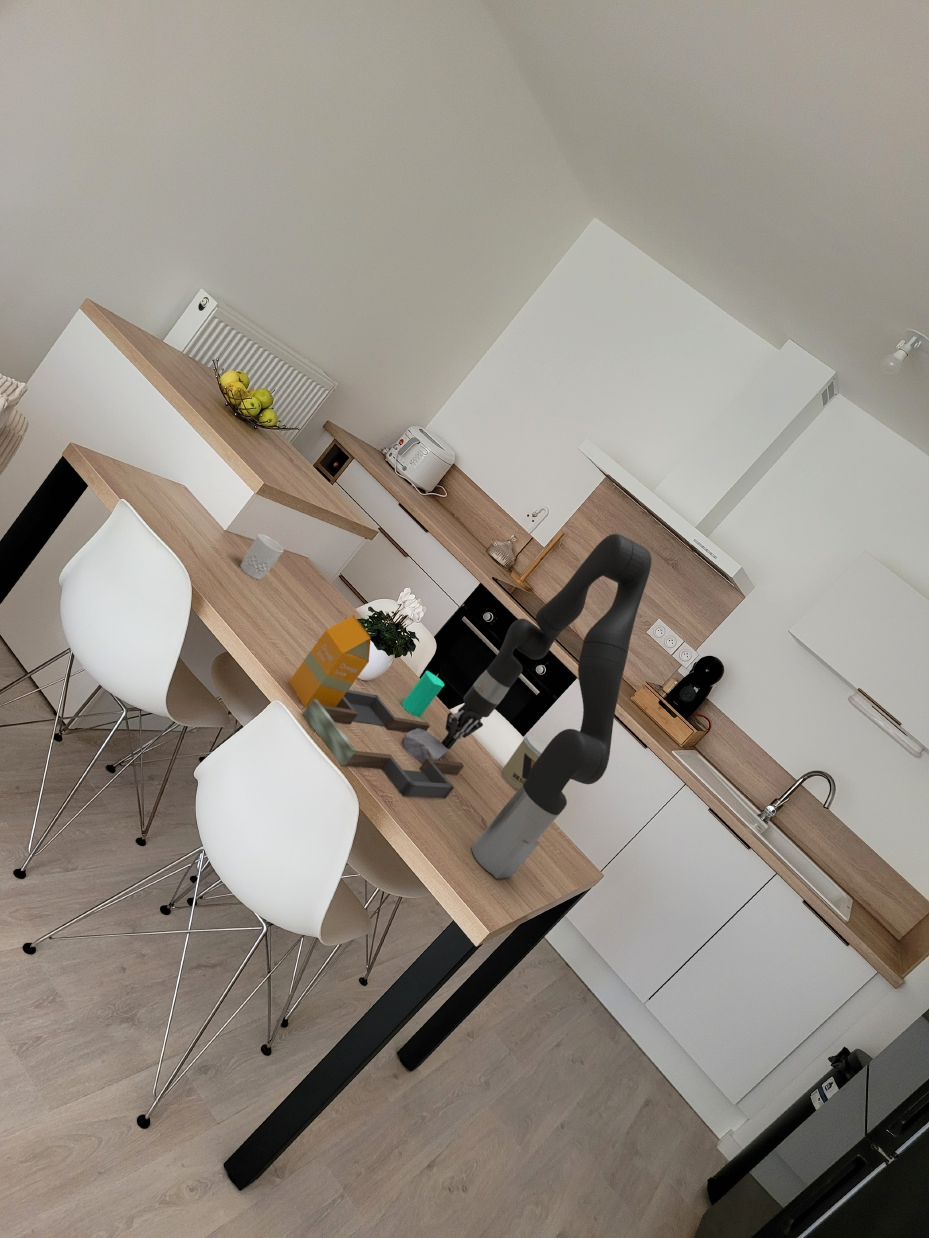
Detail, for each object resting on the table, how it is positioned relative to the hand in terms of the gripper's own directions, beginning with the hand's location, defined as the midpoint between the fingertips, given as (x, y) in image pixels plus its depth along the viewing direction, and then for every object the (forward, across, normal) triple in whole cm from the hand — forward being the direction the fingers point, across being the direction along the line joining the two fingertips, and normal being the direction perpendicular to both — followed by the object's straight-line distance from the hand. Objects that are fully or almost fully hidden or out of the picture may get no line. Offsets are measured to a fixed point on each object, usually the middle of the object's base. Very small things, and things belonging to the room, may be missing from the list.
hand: (444, 747), depth 198 cm
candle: (+2, +4, +17) cm, 18 cm away
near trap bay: (+2, -21, -12) cm, 24 cm away
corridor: (+2, -21, 0) cm, 21 cm away
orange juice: (+2, -35, +14) cm, 38 cm away
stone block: (+2, -8, 0) cm, 8 cm away
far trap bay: (+2, -21, +12) cm, 24 cm away
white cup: (+2, -19, +70) cm, 72 cm away
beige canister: (+2, +25, -8) cm, 27 cm away
